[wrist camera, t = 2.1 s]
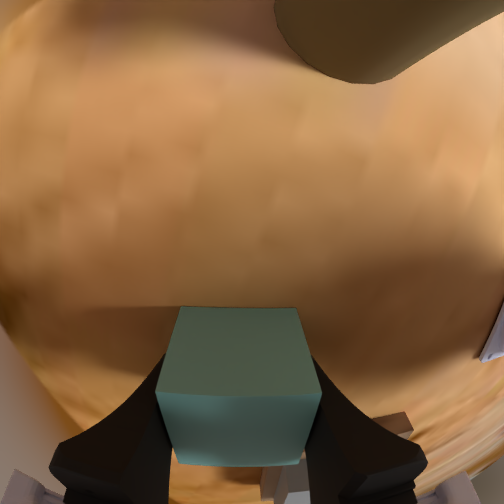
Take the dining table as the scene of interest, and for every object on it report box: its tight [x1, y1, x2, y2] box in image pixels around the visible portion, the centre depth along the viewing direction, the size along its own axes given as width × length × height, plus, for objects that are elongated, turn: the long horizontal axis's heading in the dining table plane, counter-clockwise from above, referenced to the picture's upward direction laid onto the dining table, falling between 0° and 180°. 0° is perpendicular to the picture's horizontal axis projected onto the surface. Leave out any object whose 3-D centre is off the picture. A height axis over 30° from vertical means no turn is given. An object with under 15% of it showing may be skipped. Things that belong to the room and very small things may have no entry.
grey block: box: [274, 459, 310, 504], centre depth 15 cm, size 8×8×2 cm
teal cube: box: [155, 306, 322, 467], centre depth 11 cm, size 5×5×5 cm
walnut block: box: [260, 412, 414, 501], centre depth 17 cm, size 10×10×2 cm
